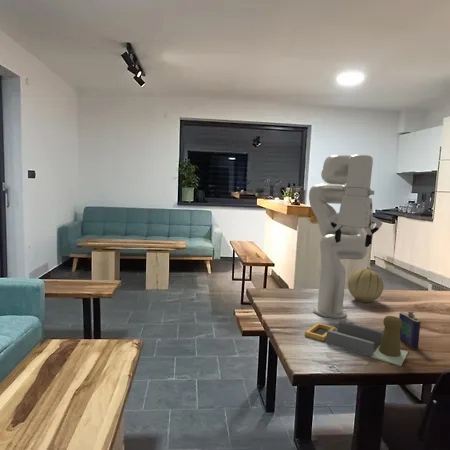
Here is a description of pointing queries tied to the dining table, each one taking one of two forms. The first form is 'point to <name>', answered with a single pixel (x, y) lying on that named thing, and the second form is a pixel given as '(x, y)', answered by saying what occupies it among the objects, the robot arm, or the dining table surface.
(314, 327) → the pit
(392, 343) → the cork
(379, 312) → the dining table surface
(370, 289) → the cantaloupe
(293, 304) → the dining table surface
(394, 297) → the dining table surface
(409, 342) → the flask
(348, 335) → the grey parallel walls
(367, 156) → the robot arm
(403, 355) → the mat
